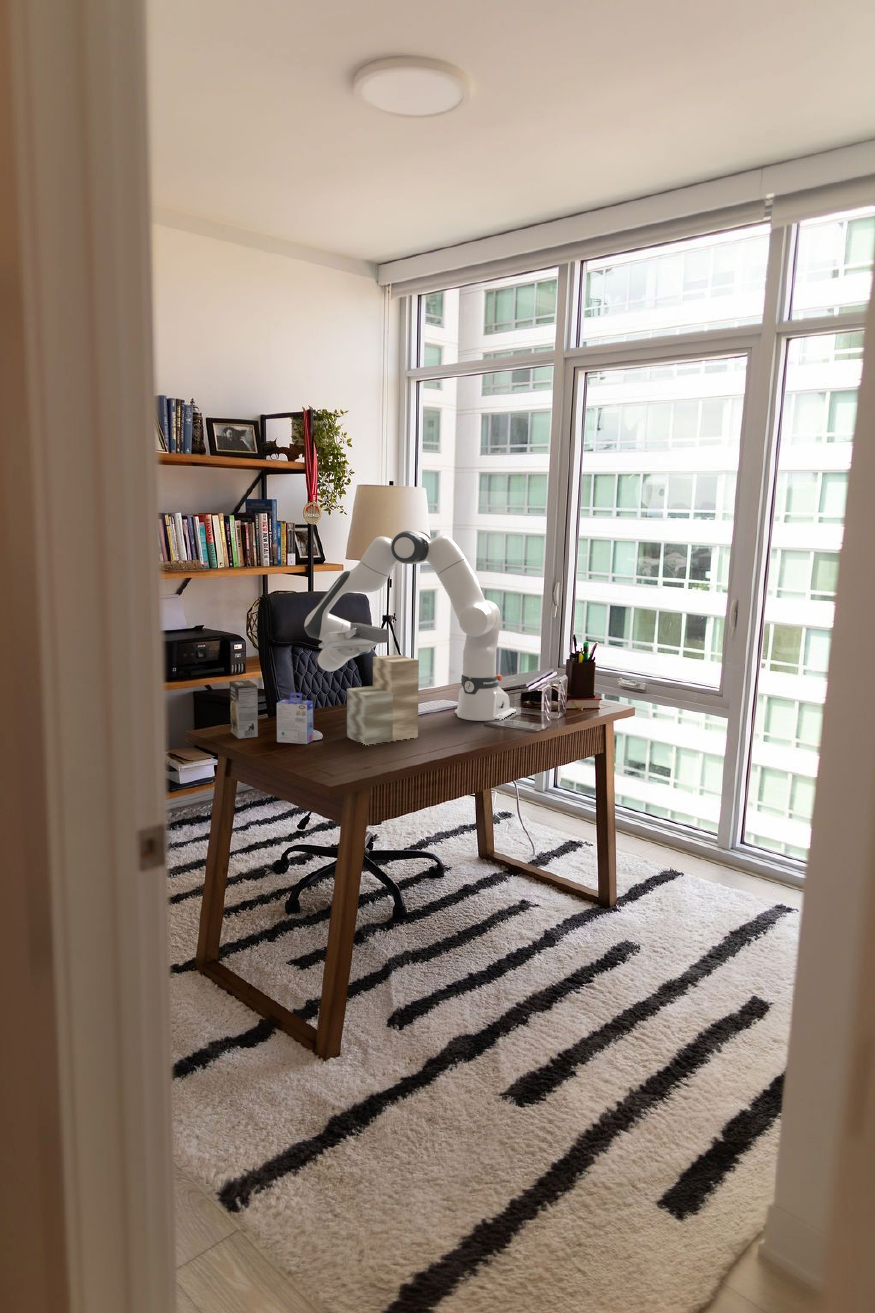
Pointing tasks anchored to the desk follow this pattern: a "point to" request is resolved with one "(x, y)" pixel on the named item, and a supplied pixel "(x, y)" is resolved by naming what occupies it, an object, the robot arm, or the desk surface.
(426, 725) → the desk surface
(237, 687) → the coffee box
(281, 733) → the ink cartridge box
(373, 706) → the stepped stand
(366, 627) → the bar
